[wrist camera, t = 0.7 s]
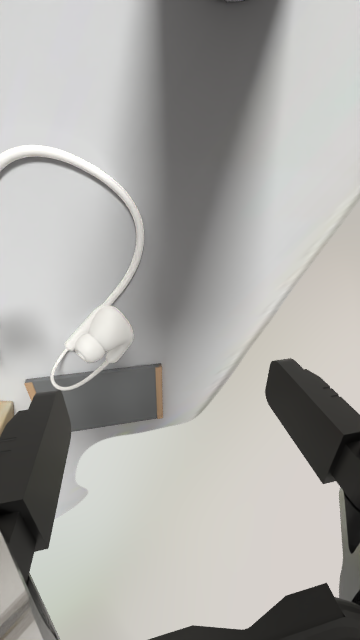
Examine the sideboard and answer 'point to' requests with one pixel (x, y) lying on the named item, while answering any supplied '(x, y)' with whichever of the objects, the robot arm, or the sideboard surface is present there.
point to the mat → (108, 396)
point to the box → (5, 414)
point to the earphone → (107, 321)
